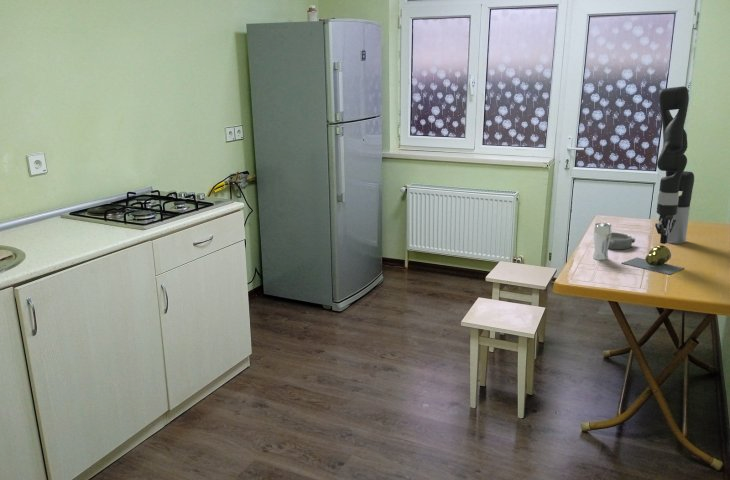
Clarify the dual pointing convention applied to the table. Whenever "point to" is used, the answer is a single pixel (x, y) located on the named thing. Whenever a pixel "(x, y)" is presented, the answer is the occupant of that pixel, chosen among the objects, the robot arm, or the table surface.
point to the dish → (620, 241)
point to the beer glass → (601, 240)
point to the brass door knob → (658, 255)
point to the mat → (658, 268)
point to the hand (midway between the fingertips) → (663, 243)
